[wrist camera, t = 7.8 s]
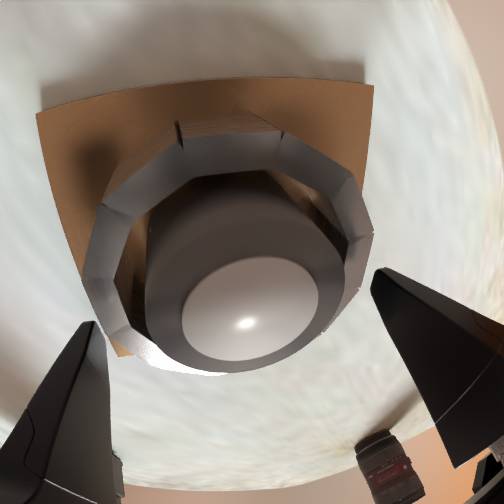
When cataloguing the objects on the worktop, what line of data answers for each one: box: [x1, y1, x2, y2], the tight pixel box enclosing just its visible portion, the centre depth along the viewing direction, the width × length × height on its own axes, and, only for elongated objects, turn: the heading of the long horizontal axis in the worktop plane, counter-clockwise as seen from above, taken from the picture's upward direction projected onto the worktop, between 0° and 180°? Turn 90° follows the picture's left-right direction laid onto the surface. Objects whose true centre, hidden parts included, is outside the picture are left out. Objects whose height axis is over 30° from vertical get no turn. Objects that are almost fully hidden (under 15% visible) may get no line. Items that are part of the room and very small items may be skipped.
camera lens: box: [354, 429, 425, 504], centre depth 36 cm, size 8×8×15 cm
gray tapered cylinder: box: [145, 170, 345, 373], centre depth 10 cm, size 6×6×4 cm
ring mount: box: [36, 77, 374, 376], centre depth 11 cm, size 12×12×3 cm
